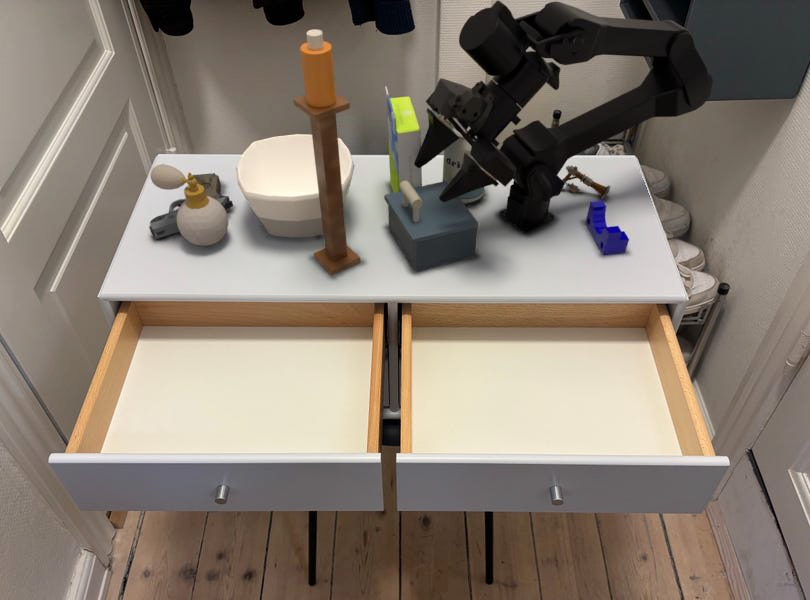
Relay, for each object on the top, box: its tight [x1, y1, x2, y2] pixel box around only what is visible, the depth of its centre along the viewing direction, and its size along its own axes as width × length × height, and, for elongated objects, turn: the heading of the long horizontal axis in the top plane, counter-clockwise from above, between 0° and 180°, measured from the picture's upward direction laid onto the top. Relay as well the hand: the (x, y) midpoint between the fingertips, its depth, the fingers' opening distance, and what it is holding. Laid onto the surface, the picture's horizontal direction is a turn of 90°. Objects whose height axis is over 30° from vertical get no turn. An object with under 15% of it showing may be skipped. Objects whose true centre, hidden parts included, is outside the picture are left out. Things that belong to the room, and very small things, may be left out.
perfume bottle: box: [150, 163, 229, 247], centre depth 98 cm, size 8×10×12 cm
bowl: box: [236, 133, 355, 238], centre depth 103 cm, size 18×18×9 cm
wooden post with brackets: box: [561, 164, 611, 201], centre depth 109 cm, size 2×8×4 cm, turn 72°
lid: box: [383, 180, 479, 244], centre depth 96 cm, size 10×12×5 cm
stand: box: [293, 93, 361, 276], centre depth 90 cm, size 5×5×25 cm
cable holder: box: [584, 200, 630, 256], centre depth 101 cm, size 8×4×4 cm, turn 8°
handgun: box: [148, 172, 234, 240], centre depth 107 cm, size 2×14×12 cm
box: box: [384, 85, 423, 193], centre depth 103 cm, size 10×4×17 cm, turn 9°
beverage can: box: [441, 127, 485, 205], centre depth 106 cm, size 7×7×12 cm
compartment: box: [387, 204, 479, 273], centre depth 100 cm, size 10×12×5 cm
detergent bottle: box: [299, 28, 337, 108], centre depth 78 cm, size 4×4×8 cm
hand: (428, 182), depth 94 cm, fingers open, 9 cm apart
